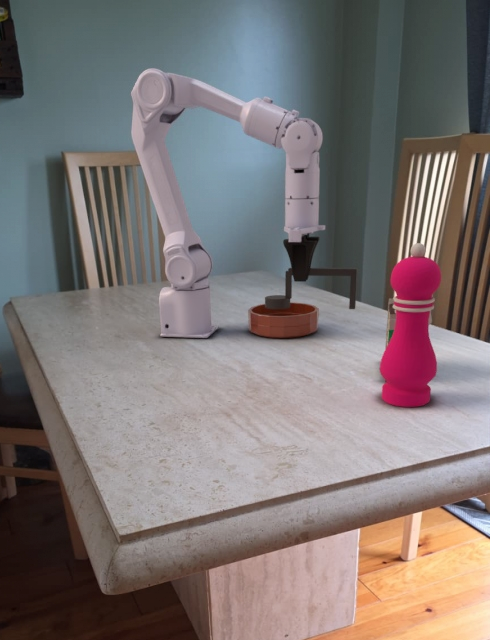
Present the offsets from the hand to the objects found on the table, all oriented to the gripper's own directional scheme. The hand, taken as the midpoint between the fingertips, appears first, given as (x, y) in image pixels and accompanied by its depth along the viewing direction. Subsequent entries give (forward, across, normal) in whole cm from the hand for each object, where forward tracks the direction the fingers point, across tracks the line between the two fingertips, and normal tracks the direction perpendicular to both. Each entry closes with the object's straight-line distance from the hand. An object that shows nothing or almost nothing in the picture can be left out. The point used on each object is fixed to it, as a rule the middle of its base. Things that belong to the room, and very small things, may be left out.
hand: (301, 280), depth 111 cm
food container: (+11, -19, -19) cm, 29 cm away
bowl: (+10, +5, +4) cm, 12 cm away
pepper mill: (+11, -31, -19) cm, 38 cm away
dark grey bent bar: (+5, 0, -2) cm, 5 cm away
